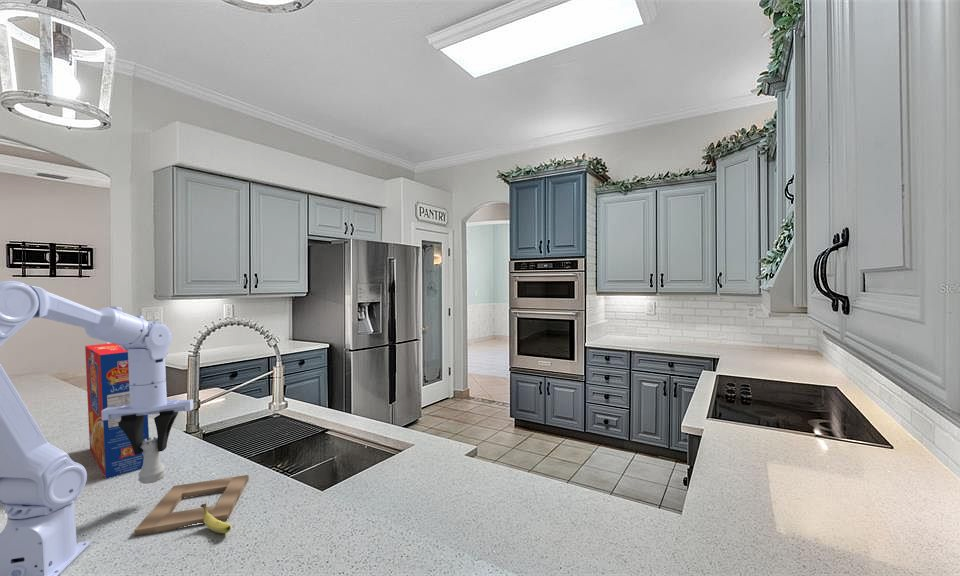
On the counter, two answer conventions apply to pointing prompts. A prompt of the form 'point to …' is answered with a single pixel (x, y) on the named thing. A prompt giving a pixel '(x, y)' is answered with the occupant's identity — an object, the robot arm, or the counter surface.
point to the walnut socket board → (166, 520)
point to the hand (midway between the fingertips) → (150, 451)
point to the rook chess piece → (151, 462)
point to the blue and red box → (107, 391)
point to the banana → (215, 522)
